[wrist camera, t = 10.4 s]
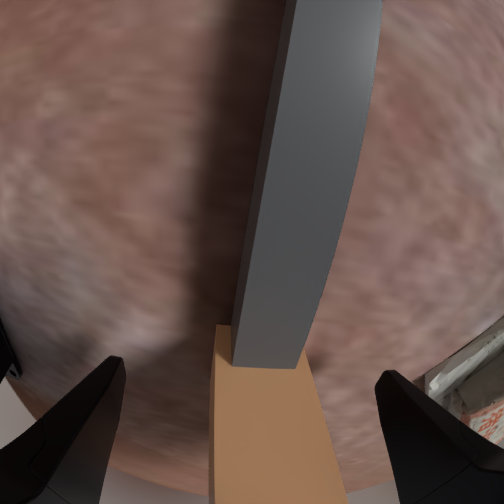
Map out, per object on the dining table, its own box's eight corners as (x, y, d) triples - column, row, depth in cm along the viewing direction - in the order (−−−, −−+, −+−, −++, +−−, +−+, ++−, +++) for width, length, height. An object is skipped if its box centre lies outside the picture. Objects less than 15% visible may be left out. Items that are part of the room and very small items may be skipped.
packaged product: (518, 430, 15) (439, 485, 16) (499, 400, 19) (424, 450, 21) (577, 322, 7) (455, 434, 9) (532, 281, 12) (418, 368, 13)
